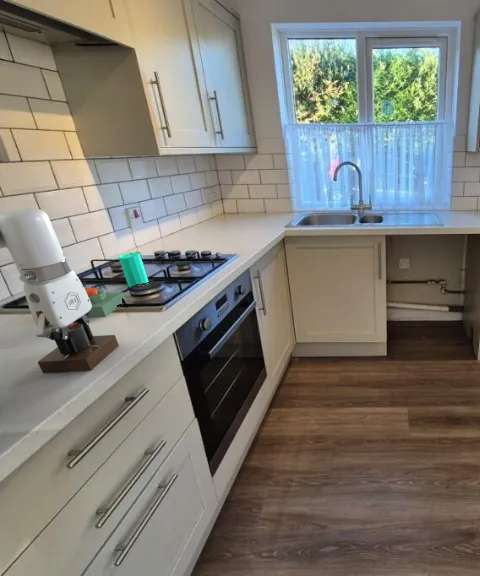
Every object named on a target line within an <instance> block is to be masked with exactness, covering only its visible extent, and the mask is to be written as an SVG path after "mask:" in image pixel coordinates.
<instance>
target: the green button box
mask: <svg viewBox="0 0 480 576" xmlns="http://www.w3.org/2000/svg"><path fill="white" fill-rule="evenodd" d="M97 291H98V294H97V295H95V296H92V297H89V299H90V302H91V305H92V308H91V310H90V311H89V316H88V319H90V318H106V317H107V316H109V315H110V314H112V313H113V312H114V311H116V310H117V309H116V307H117V305H119V304H121V303H122V298H123V299H124V300H125V301H126V302H127V298H126V296H125V293H124V291H117V292H116V291H115V292H113V291H112V292H105V290H104V289H97Z"/></svg>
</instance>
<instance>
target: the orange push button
mask: <svg viewBox="0 0 480 576" xmlns="http://www.w3.org/2000/svg"><path fill="white" fill-rule="evenodd" d="M84 289H85V291H86V293H87V295H88V297H92V296H95V295H97V294H98V291H97V290H98V288H96V287H95V286H94V287H93V286H91V287H85V288H84Z"/></svg>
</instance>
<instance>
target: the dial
mask: <svg viewBox="0 0 480 576" xmlns="http://www.w3.org/2000/svg"><path fill="white" fill-rule="evenodd" d="M66 327H67V332H68V337H72V339H73V341H74V343H75V346H76V348H77V350H78V351H81V350H83V349H85V348H87V347H88V346H89V345H90V341H89V339H88V337H87V334H86V332H85V329H84V327H83V325H82V324H81V323H78V322H74V323H71V324H70V325H68V326H66ZM56 331H57V332H59V333H60V329H57V330H56Z"/></svg>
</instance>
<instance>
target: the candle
mask: <svg viewBox="0 0 480 576" xmlns="http://www.w3.org/2000/svg"><path fill="white" fill-rule="evenodd" d="M118 260H119V263H120V265H121V269H122V272H123V274H124V277H125V280H126V283H127V287H128V288H132V287H131V286H134V285H136V284H142V283H147V282H149V279H148V275H147V273H146V269H145V265H144V262H143V260H142V256H141V253H140V252H129V249H128V250H127V253H124V254H120V255H119V256H118ZM147 284H148V283H147Z"/></svg>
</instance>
